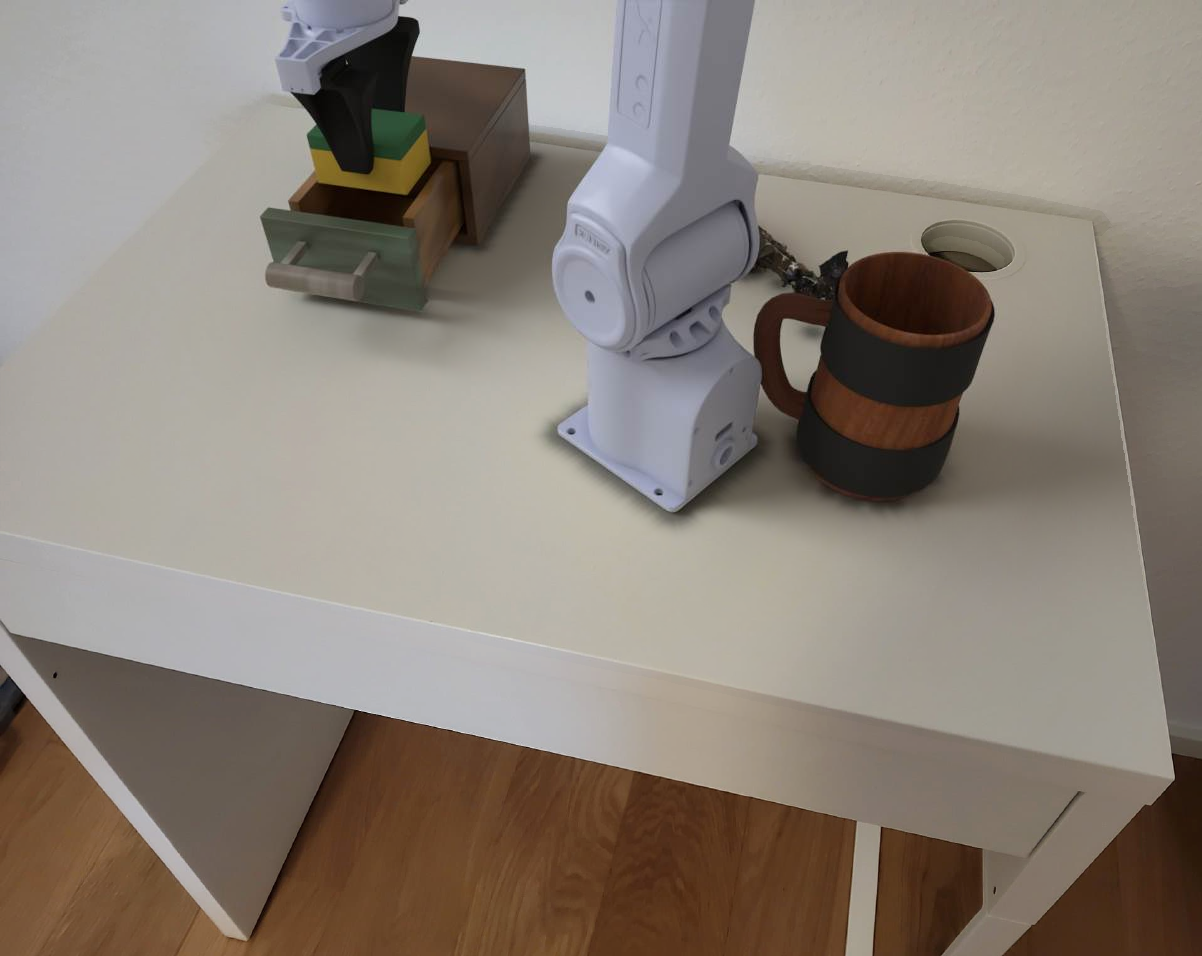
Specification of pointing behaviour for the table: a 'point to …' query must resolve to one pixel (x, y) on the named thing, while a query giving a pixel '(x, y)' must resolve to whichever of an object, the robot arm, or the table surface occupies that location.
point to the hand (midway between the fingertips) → (372, 151)
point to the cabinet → (474, 130)
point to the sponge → (380, 154)
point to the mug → (880, 371)
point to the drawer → (365, 238)
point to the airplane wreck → (800, 268)
